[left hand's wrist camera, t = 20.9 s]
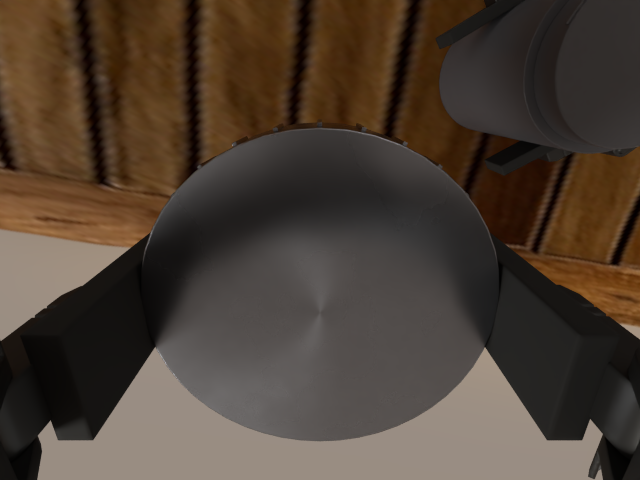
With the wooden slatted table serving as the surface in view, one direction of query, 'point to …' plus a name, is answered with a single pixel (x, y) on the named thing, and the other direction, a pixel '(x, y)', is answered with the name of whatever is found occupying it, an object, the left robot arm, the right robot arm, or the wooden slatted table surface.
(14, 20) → the wooden slatted table surface
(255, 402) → the lid
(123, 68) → the wooden slatted table surface
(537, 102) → the jar
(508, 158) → the right robot arm
